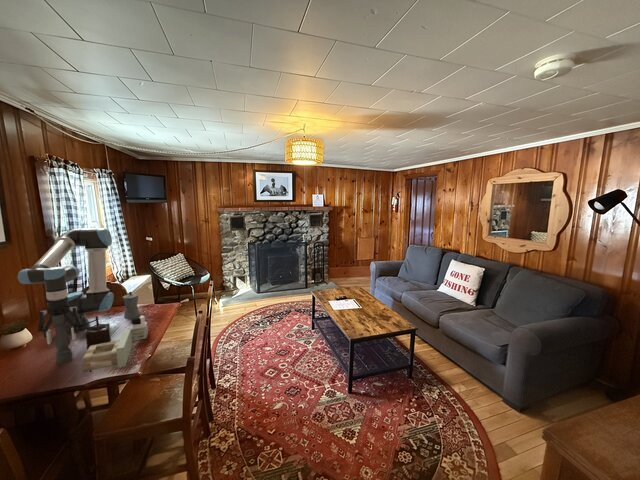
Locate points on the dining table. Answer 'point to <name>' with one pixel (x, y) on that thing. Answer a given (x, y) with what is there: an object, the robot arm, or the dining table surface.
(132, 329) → the container
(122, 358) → the backstop wall
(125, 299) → the coffeepot
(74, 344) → the dining table surface
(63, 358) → the candle holder
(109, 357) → the socket block
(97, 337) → the coffee grinder
